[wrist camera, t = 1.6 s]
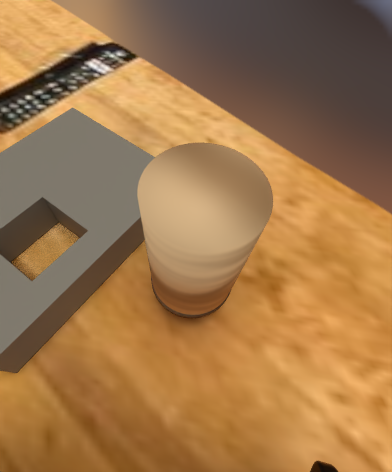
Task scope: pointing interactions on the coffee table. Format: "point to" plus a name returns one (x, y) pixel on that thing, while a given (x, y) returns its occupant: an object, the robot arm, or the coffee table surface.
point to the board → (68, 214)
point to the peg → (200, 223)
